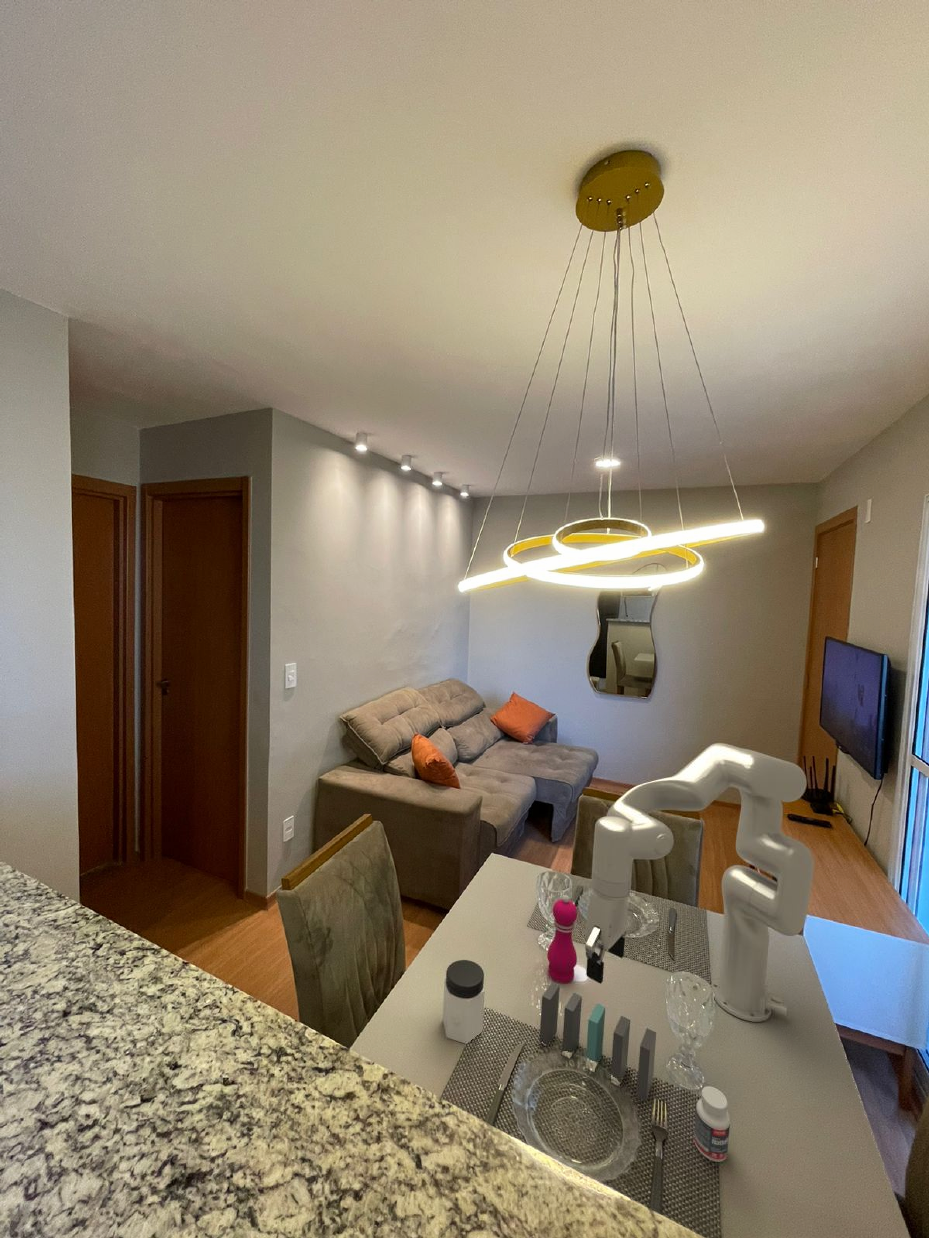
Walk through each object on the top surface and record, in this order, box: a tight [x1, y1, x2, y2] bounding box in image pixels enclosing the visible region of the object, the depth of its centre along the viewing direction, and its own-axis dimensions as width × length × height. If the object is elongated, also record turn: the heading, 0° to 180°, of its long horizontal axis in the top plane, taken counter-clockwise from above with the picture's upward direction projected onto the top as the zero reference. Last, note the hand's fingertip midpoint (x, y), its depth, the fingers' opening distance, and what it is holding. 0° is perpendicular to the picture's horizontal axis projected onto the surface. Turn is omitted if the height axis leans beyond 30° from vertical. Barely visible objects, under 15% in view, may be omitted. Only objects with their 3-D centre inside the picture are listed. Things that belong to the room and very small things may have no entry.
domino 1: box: [538, 981, 560, 1046], centre depth 109 cm, size 2×5×10 cm, turn 147°
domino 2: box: [561, 992, 583, 1052], centre depth 107 cm, size 2×5×10 cm, turn 147°
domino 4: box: [610, 1015, 631, 1083], centre depth 101 cm, size 2×5×10 cm, turn 147°
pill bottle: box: [693, 1085, 731, 1163], centre depth 89 cm, size 5×5×9 cm
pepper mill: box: [546, 894, 578, 984], centre depth 128 cm, size 7×7×20 cm
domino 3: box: [585, 1003, 606, 1062], centre depth 104 cm, size 2×5×10 cm, turn 147°
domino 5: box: [636, 1027, 657, 1103], centre depth 98 cm, size 2×5×10 cm, turn 147°
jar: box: [442, 959, 486, 1045], centre depth 110 cm, size 9×8×12 cm
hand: (605, 966), depth 103 cm, fingers open, 9 cm apart
